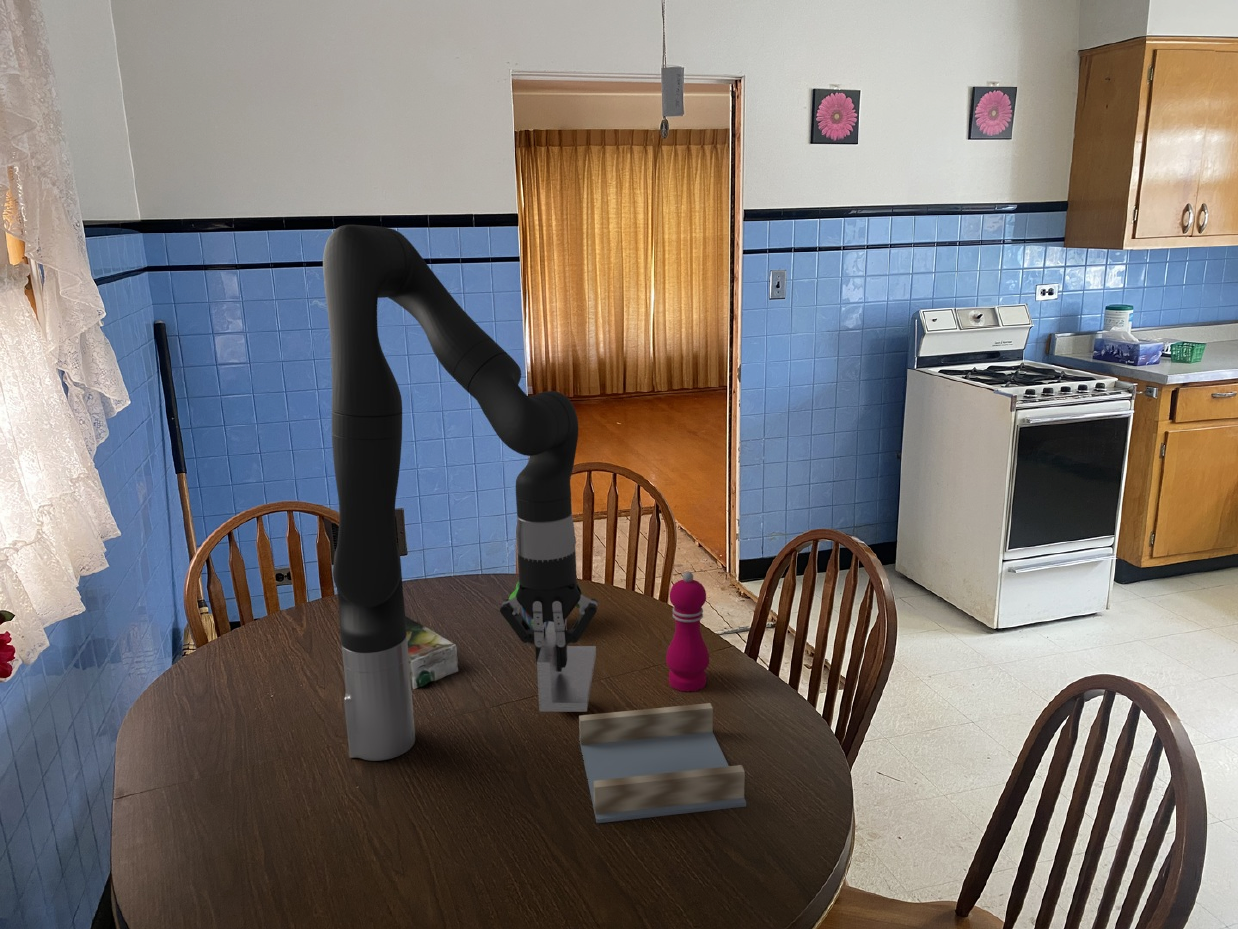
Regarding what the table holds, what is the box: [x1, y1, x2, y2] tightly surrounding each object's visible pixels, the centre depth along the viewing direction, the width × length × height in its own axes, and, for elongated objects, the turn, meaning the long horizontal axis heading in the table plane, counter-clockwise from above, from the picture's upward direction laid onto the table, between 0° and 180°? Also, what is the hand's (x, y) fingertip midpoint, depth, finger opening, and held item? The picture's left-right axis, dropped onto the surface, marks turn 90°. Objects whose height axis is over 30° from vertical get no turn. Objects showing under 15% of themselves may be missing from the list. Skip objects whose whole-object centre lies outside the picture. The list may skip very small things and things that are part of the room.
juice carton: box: [405, 615, 459, 690], centre depth 160 cm, size 20×10×6 cm, turn 45°
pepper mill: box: [665, 571, 710, 693], centre depth 149 cm, size 7×7×20 cm
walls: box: [578, 702, 746, 815], centre depth 127 cm, size 20×18×4 cm
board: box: [578, 732, 747, 824], centre depth 127 cm, size 20×20×1 cm
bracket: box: [536, 621, 597, 713], centre depth 120 cm, size 16×6×7 cm, turn 177°
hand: (552, 668), depth 121 cm, fingers closed on bracket, 1 cm apart
